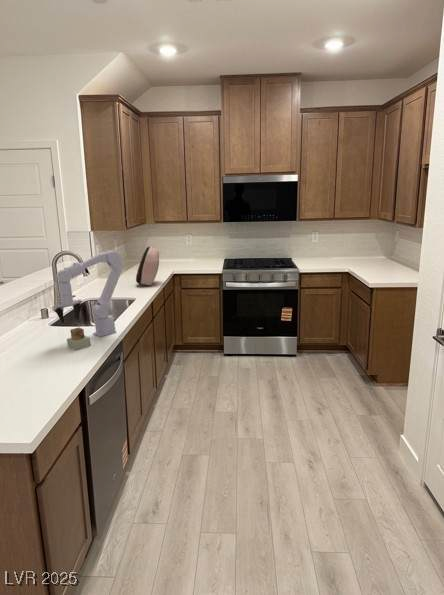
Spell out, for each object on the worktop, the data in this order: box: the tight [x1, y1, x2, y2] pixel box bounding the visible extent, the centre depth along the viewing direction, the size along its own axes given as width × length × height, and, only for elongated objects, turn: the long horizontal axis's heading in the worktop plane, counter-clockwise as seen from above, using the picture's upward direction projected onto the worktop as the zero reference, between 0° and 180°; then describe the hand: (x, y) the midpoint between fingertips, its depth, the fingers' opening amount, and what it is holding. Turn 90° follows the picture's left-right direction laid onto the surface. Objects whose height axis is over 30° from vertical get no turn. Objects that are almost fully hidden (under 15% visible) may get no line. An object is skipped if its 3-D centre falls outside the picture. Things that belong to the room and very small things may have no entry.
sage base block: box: [66, 334, 92, 351], centre depth 199 cm, size 8×8×4 cm
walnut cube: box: [70, 327, 85, 340], centre depth 198 cm, size 4×4×4 cm
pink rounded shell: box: [135, 246, 160, 286], centre depth 324 cm, size 22×20×30 cm
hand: (69, 320), depth 206 cm, fingers open, 7 cm apart
